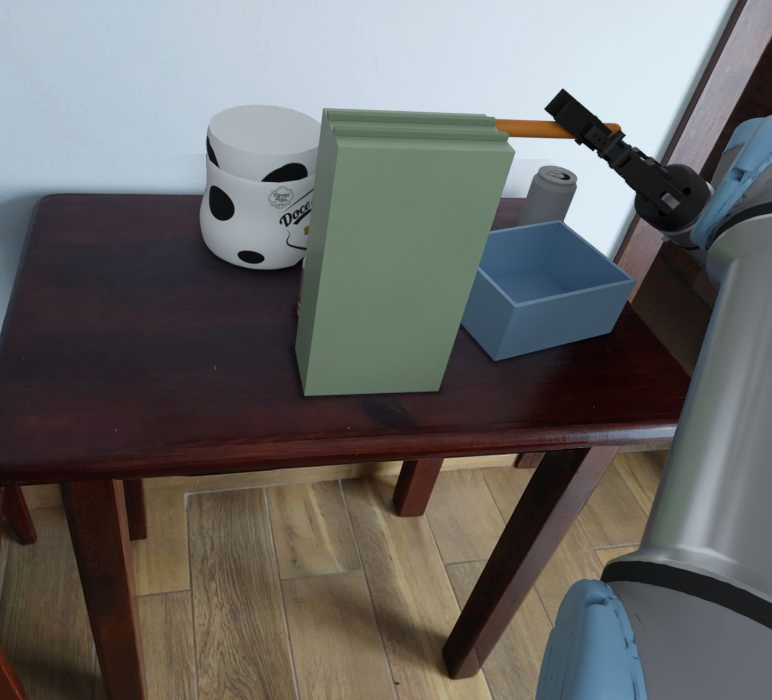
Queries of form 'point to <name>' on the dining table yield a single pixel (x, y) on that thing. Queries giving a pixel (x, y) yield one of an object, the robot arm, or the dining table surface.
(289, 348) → the dining table surface
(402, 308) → the stand
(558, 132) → the orange round-ended rod
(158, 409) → the dining table surface
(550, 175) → the beverage can
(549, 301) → the bin
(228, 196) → the doce de leite jar
